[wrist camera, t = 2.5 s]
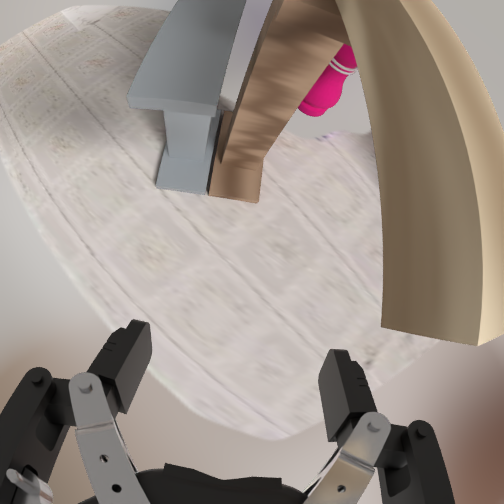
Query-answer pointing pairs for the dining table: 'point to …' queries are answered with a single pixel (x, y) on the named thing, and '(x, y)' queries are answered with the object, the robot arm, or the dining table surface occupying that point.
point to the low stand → (188, 86)
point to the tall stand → (274, 90)
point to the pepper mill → (329, 83)
